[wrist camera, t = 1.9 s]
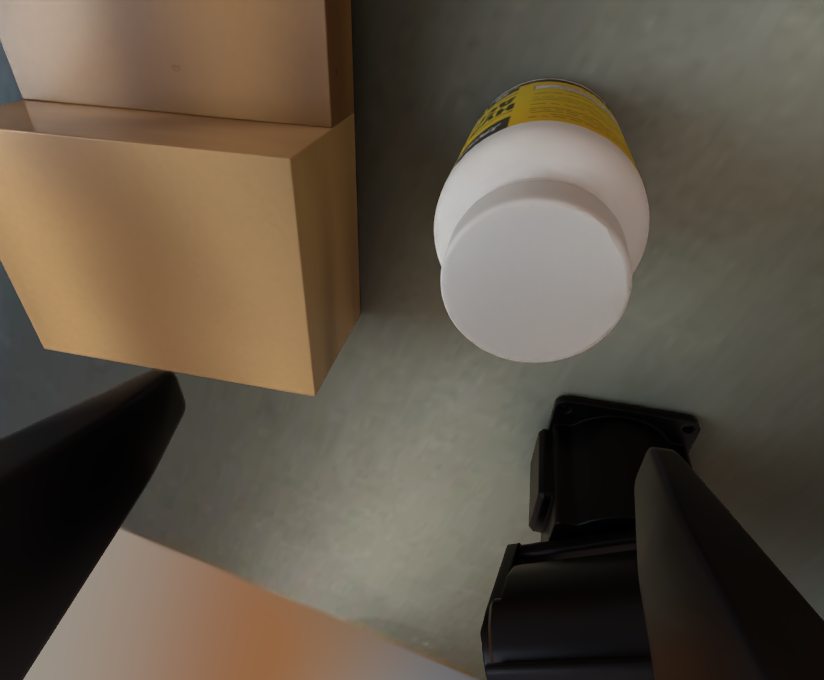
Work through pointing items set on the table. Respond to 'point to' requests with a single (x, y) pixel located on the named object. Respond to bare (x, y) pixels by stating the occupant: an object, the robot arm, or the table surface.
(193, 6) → the shelf riser
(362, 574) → the table surface
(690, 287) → the table surface
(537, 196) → the supplement bottle
